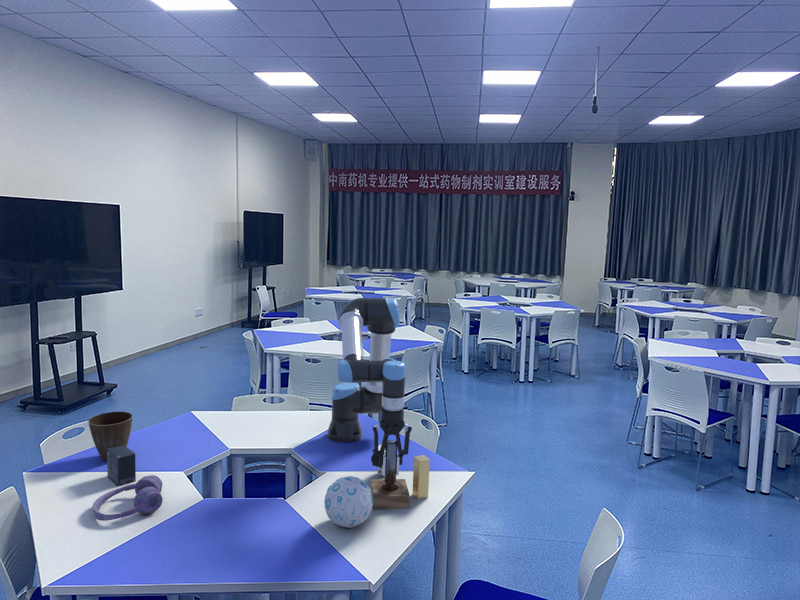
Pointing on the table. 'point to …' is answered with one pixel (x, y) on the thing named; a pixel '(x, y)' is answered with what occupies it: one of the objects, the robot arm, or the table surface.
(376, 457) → the pneumatic valve
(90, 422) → the plant pot
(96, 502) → the headphones
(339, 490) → the puzzle ball
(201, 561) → the table surface
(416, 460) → the square bit
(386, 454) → the cylinder
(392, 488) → the bore block
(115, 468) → the small box
